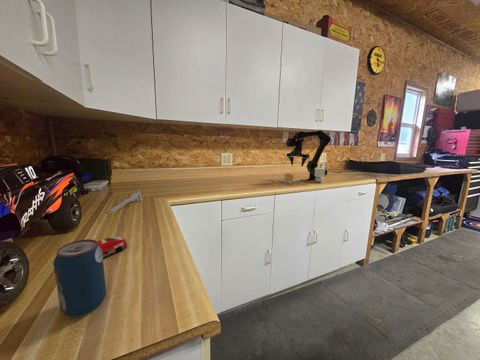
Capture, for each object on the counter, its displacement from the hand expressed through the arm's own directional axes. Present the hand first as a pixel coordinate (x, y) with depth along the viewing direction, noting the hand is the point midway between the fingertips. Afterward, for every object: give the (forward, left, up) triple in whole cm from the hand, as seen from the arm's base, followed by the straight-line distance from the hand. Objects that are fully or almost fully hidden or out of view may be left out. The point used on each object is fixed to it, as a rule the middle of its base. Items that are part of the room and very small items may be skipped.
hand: (296, 165), depth 174 cm
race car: (+146, +27, -12) cm, 149 cm away
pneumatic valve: (-10, +15, -12) cm, 22 cm away
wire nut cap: (+11, 0, -11) cm, 16 cm away
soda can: (+152, +45, -12) cm, 159 cm away
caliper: (+128, -13, -12) cm, 129 cm away
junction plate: (+11, 0, -12) cm, 16 cm away
